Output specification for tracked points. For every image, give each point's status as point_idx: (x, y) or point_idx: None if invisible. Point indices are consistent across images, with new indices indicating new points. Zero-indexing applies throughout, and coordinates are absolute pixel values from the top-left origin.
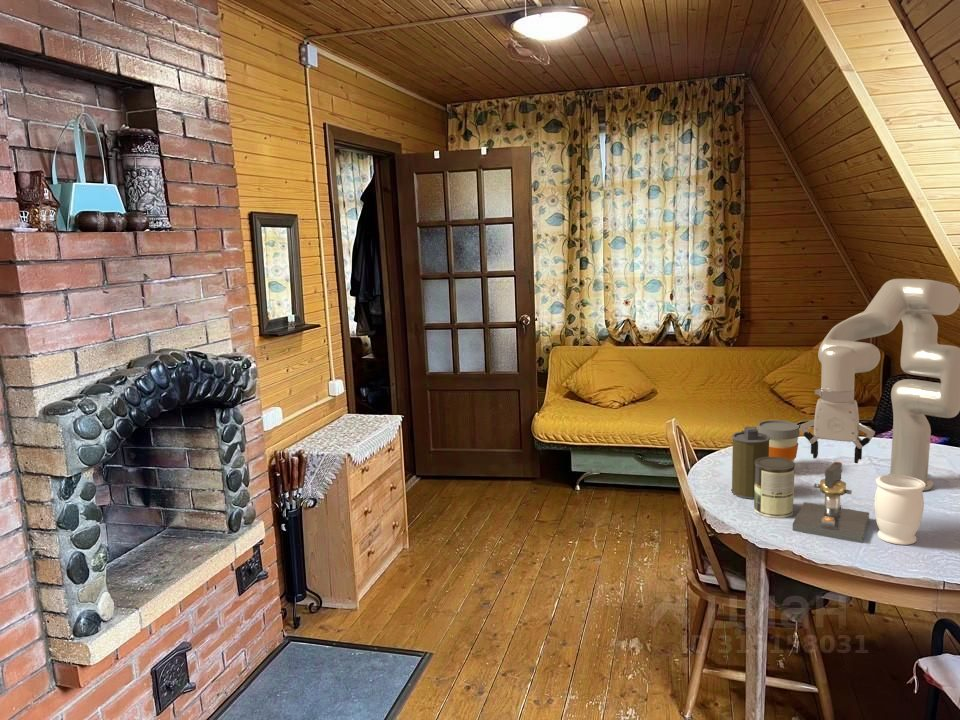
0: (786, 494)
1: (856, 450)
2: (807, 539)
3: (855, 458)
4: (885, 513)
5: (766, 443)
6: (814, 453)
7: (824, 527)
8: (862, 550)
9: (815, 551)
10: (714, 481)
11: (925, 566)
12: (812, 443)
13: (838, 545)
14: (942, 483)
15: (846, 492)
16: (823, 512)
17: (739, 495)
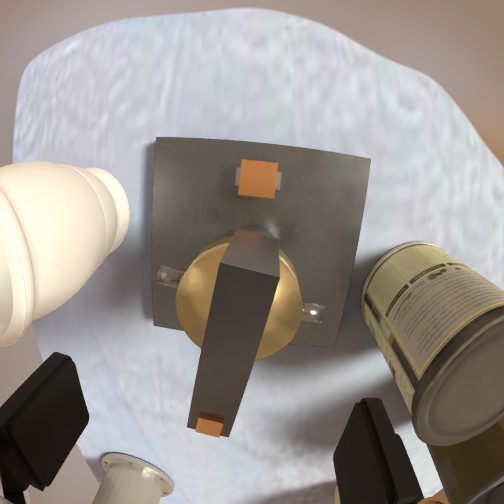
0: (412, 286)
1: (4, 414)
2: (316, 104)
3: (46, 372)
4: (61, 168)
5: (474, 486)
6: (381, 426)
7: (270, 154)
8: (163, 88)
9: (286, 32)
10: None
11: (49, 78)
12: (422, 501)
13: (226, 93)
14: (100, 472)
15: (179, 270)
16: None
17: None
